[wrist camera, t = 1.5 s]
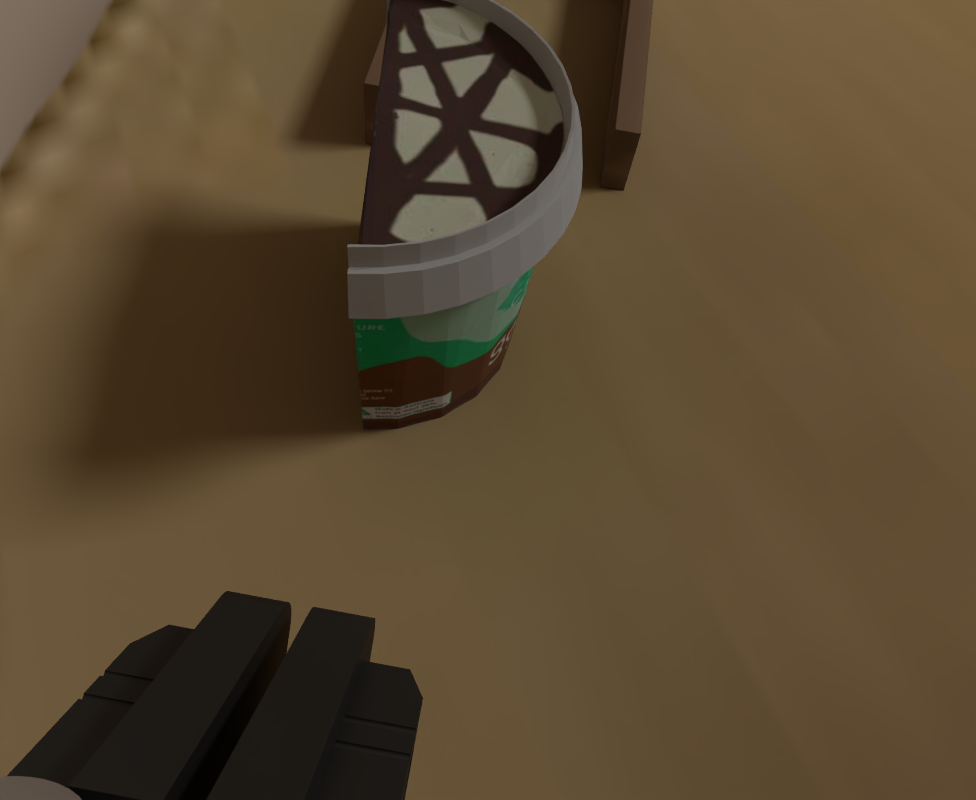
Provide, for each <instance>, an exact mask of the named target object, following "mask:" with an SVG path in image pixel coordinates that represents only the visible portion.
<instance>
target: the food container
mask: <svg viewBox="0 0 976 800" xmlns="http://www.w3.org/2000/svg"><path fill="white" fill-rule="evenodd" d="M582 170H583V159H582V128H581V122H580V116H579V110H578V105H577V103H576V100H575V98H574V95H573V91H572V86H571V83H570V81H569V78H568V76H567V73H566V71H565V69H564V66H563V64H562V63H561V61H560V60H559V58H558V57H557V55H556V54H555V52H554V51H553V49H552V47H551V46H550V45H549V44H548V43H547V42H546V41H545V40H544V39H543V37H542V36H541V35H540V34H539V33H538V32H537V31H536V30H535V29H534V28H533V27H532V26H530V25H529V24H528V23H527V22H525V21H524V20H523V19H522V18H521V17H519V16H518V15H517V14H516V13H514V12H513V11H511V10H509V9H508V8H506V7H504V6H503V5H501V4H500V3H498V2H496V1H495V0H386V39H385V46H384V53H383V60H382V68H381V75H380V82H379V88H378V94H377V100H376V106H375V115H374V124H373V133H372V142H371V150H370V157H369V165H368V172H367V179H366V187H365V194H364V202H363V210H362V217H361V225H360V233H359V242H358V244H348V246H347V251H348V272H347V279H348V317H349V319H353V322H354V333H355V344H356V355H357V366H358V377H359V388H360V400H361V411H362V422H363V429H389V428H401V427H405V426H409V425H413V424H417V423H421V422H425V421H428V420H432V419H436V418H440V417H442V416H444V415H446V414H447V413H449V412H451V411H452V410H454V409H456V408H457V407H459V406H461V405H462V404H464V403H466V402H468V401H469V400H471V399H473V398H474V397H476V396H477V395H478V394H479V393H480V391H481V390H482V389H483V388H484V387H485V385H486V384H487V383H488V382H489V381H490V380H491V378H492V377H493V376H494V375H495V374H496V373H497V371H498V370H499V369H500V367H501V364H502V361H503V359H504V356H505V353H506V351H507V348H508V345H509V342H510V339H511V336H512V333H513V330H514V327H515V324H516V321H517V317H518V314H519V311H520V308H521V305H522V302H523V299H524V296H525V292H526V289H527V286H528V283H529V280H530V277H531V274H532V271H533V267H534V265H535V264H536V263H538V262H539V261H540V260H541V259H543V258H544V257H545V256H546V255H547V253H548V252H549V251H550V250H551V249H552V247H553V246H554V245H555V244H556V243H557V241H558V240H559V239H560V238H561V237H562V235H563V234H564V232H565V230H566V228H567V226H568V225H569V223H570V221H571V219H572V217H573V215H574V213H575V211H576V207H577V204H578V200H579V196H580V193H581V189H582Z"/></svg>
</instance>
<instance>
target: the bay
mask: <svg viewBox="0 0 976 800" xmlns="http://www.w3.org/2000/svg"><path fill="white" fill-rule="evenodd" d="M652 5H653V0H623V4H622V12H621V20H620V28H619V36H618V45H617V53H616V61H615V69H614V77H613V85H612V93H611V101H610V109H609V117H608V126H607V134H606V142H605V150H604V158H603V166H602V174H601V182H600V186H602V187H607V188H613V189H618V190H624V187H625V184H626V181H627V177H628V174H629V171H630V167H631V164H632V161H633V158H634V154H635V151H636V148H637V145H638V141H639V138H640V135H641V126H642V115H643V104H644V93H645V82H646V71H647V60H648V49H649V38H650V27H651V16H652ZM385 39H386V25H385V28H384V31H383V33H382V36H381V39H380V41H379V44H378V47H377V49H376V52H375V55H374V58H373V60H372V63H371V66H370V68H369V71H368V74H367V76H366V79H365V82H364V100H365V132H366V143H367V144H371V142H372V133H373V124H374V115H375V106H376V100H377V94H378V88H379V82H380V75H381V68H382V60H383V53H384V46H385Z"/></svg>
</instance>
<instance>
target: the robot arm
mask: <svg viewBox="0 0 976 800" xmlns="http://www.w3.org/2000/svg"><path fill="white" fill-rule="evenodd" d="M290 624H291V605H290V603H289V602H284V601H279V600H273V599H268V598H263V597H257V596H252V595H247V594H241V593H236V592H230V591H226V592H225V593H224V594H223V595H222V596H221V597H220V598H219V599H218V601H217V602H216V603H215V604H214V606H213V607H212V608H211V609H210V611H209V612H208V613H207V614H206V616H205V617H204V618H203V619H202V620H201V622H200V623H199V624H198V625H197V627H196V628H195V629H189V628H184V627H179V626H173V625H167V626H165V627H163V628H161V629H159V630H157V631H155V632H153V633H151V634H149V635H147V636H145V637H143V638H141V639H139V640H136V641H134V642H132V643H130V644H129V645H128V646H127V647H126V648H125V650H124V651H123V652H122V653H121V654H120V655H119V656H118V657H117V658H116V659H115V660H114V661H113V662H112V664H111V665H110V666H109V667H108V668H107V669H106V670H105V673H104V676H99V678H98V679H97V680H96V681H95V682H94V683H93V684H92V685H91V686H90V687H89V688H88V689H87V690H86V692H85V693H84V696H83V698H82V700H81V699H78V700H77V701H76V702H75V703H74V704H73V705H72V707H71V708H70V709H69V710H68V711H67V712H66V713H65V714H64V715H63V716H62V717H61V718H60V719H59V721H58V722H57V723H56V724H55V725H54V726H53V727H52V728H51V729H50V730H49V731H48V732H47V733H46V735H45V736H44V737H43V738H42V739H41V740H40V741H39V742H38V743H37V744H36V745H35V746H34V747H33V749H32V750H31V751H30V752H29V753H28V754H27V755H26V756H25V757H24V758H23V759H22V760H21V761H20V763H19V764H18V765H17V766H16V767H15V768H14V769H13V770H12V771H11V772H10V773H9V774H8V775H7V776H6V777H0V800H405V794H406V789H407V783H408V778H409V772H410V767H411V761H412V755H413V750H414V744H415V739H416V733H417V728H418V722H419V717H420V711H421V706H422V700H423V697H422V695H421V693H420V691H419V688H418V686H417V684H416V682H415V679H414V677H413V675H412V673H411V671H410V669H405V668H399V667H394V666H389V665H383V664H378V663H372V662H370V656H371V650H372V644H373V638H374V630H375V618H371V617H365V616H360V615H355V614H349V613H344V612H339V611H333V610H328V609H322V608H317V607H313V608H312V609H311V610H310V612H309V614H308V616H307V617H306V619H305V621H304V623H303V625H302V626H301V628H300V630H299V632H298V634H297V636H296V637H295V639H294V641H293V643H292V645H291V647H290V648H289V650H288V652H287V645H288V638H289V631H290ZM286 652H287V654H286Z"/></svg>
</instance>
